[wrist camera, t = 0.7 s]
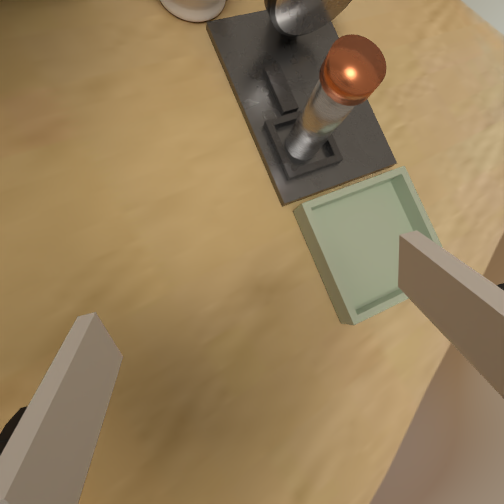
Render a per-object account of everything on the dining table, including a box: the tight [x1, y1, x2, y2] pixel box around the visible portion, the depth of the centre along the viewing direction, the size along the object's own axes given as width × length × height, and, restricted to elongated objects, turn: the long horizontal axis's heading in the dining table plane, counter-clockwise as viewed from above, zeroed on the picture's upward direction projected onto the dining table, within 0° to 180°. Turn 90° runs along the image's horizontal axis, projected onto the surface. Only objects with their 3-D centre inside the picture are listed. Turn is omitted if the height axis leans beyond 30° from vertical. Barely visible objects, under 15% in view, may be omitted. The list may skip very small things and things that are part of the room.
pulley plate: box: [206, 0, 397, 206], centre depth 32 cm, size 24×16×14 cm, turn 22°
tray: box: [293, 166, 443, 325], centre depth 36 cm, size 14×14×3 cm
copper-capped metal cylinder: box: [286, 35, 386, 160], centre depth 30 cm, size 5×5×13 cm
